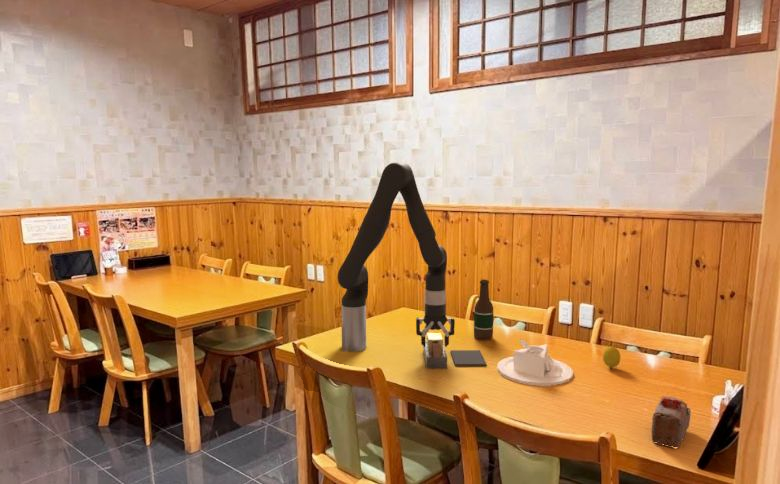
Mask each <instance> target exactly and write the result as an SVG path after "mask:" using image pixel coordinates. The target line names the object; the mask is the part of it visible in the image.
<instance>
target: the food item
mask: <svg viewBox="0 0 780 484" xmlns="http://www.w3.org/2000/svg"><path fill="white" fill-rule="evenodd" d="M652 415H653V416H652V420H651V422H652V423H651V440H652V442H653V443H654V442H657V443H659V444H664V445H668V446H673V447H678V449H679V448H680V446H681V443H682V441H681V440H682V439H684V440H685V435H686V434H687V431H688V428H689V427H690V422H691V408H690V407H688V403H686V402H684V401H683V400H681V399H679V398H676V397H673V396H661V397H660V400H659V401H658V403H657V405H656V407H655V411H654V412H653V414H652ZM659 444H658V445H659Z"/></svg>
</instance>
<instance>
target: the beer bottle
mask: <svg viewBox="0 0 780 484" xmlns="http://www.w3.org/2000/svg"><path fill="white" fill-rule="evenodd" d="M479 284H480V287H479V297H478V299H477V301H476V303H475V305H474V311H473V313H474V314H473V316H474V317H473V337H474V338H475V339H476V340H479V341H480V340H481V341H490V340H492V338H493V336H494V305H493V302H492V301H491V300H490V290H489V289H490V288H489V284H490V281H489V279H480V280H479Z"/></svg>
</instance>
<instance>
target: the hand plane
mask: <svg viewBox="0 0 780 484" xmlns="http://www.w3.org/2000/svg"><path fill="white" fill-rule="evenodd" d="M423 354H424V355H423V356H424V360H425V365H426V366H425V367H426V369H428V370H429V369H432V370H433V369H434V370H435V369H442V370H443V369H448V356H447V352H446V349H445V344H443V352H441V346H440V343H433V352H429V351H428V346H427V340H425V347H423Z"/></svg>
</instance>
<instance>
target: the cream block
mask: <svg viewBox="0 0 780 484" xmlns="http://www.w3.org/2000/svg"><path fill="white" fill-rule="evenodd" d="M426 339H427V340H426V341H427V346H428V351H429V352H433V343H440V346H441V352H443V345H444V339H443V336H442V333H441V332H438V333H437V332H427V334H426Z"/></svg>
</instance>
